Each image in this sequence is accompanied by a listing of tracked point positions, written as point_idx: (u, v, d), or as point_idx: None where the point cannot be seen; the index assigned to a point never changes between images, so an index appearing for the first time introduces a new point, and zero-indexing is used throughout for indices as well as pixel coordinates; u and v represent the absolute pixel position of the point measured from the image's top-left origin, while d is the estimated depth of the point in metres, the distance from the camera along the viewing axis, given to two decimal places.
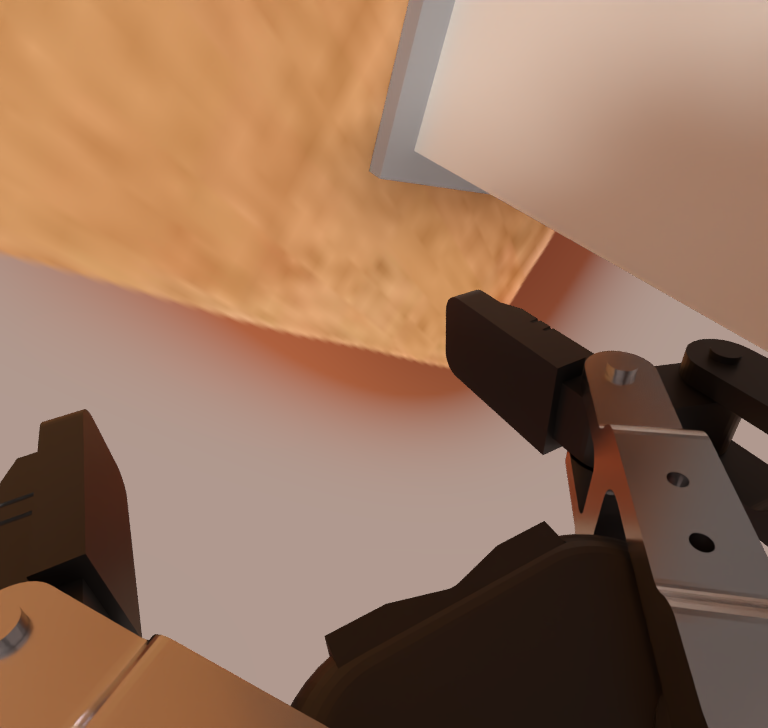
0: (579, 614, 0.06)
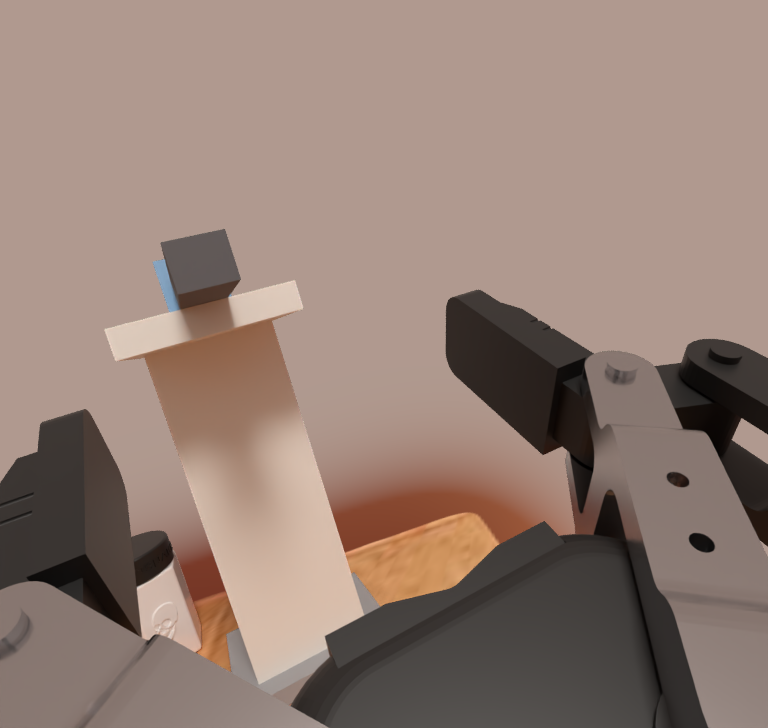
0: (579, 614, 0.06)
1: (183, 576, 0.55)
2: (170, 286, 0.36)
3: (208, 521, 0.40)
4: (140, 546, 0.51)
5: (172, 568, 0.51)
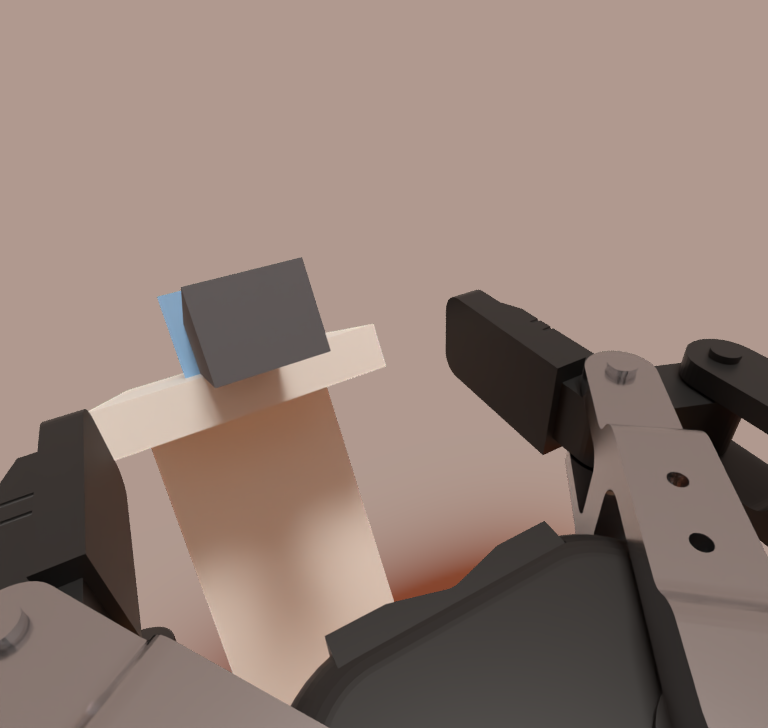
0: (579, 614, 0.06)
1: None
2: (183, 332, 0.24)
3: (236, 659, 0.28)
4: None
5: None
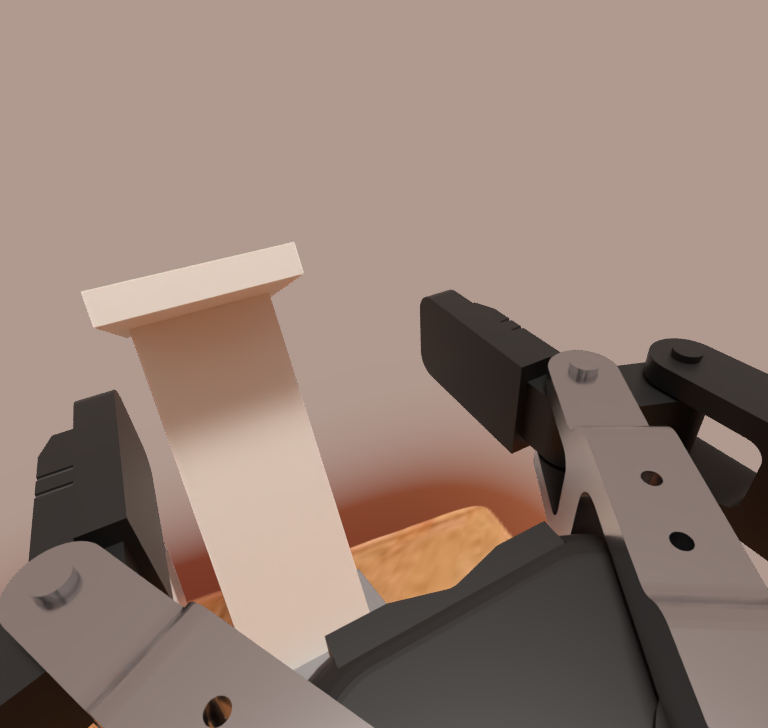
0: (579, 614, 0.06)
1: (176, 574, 0.52)
2: None
3: (200, 511, 0.37)
4: None
5: None
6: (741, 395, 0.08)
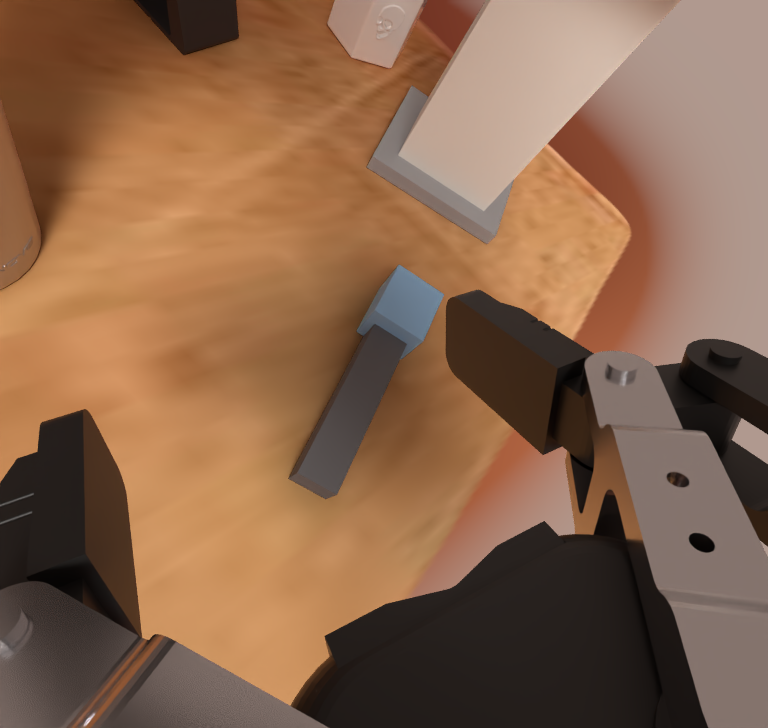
0: (579, 614, 0.06)
1: None
2: (371, 325, 0.40)
3: (489, 14, 0.36)
4: None
5: None
6: None
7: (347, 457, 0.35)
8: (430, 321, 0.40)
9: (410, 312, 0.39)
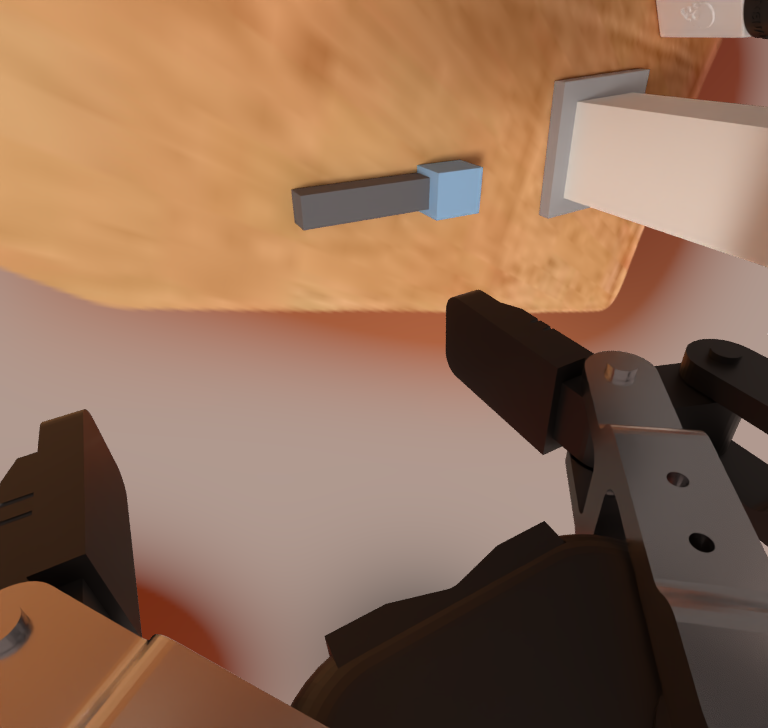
0: (579, 614, 0.06)
1: None
2: (427, 175, 0.49)
3: (705, 125, 0.42)
4: None
5: (741, 36, 0.49)
6: None
7: (330, 221, 0.46)
8: (453, 216, 0.50)
9: (451, 199, 0.49)
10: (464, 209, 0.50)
